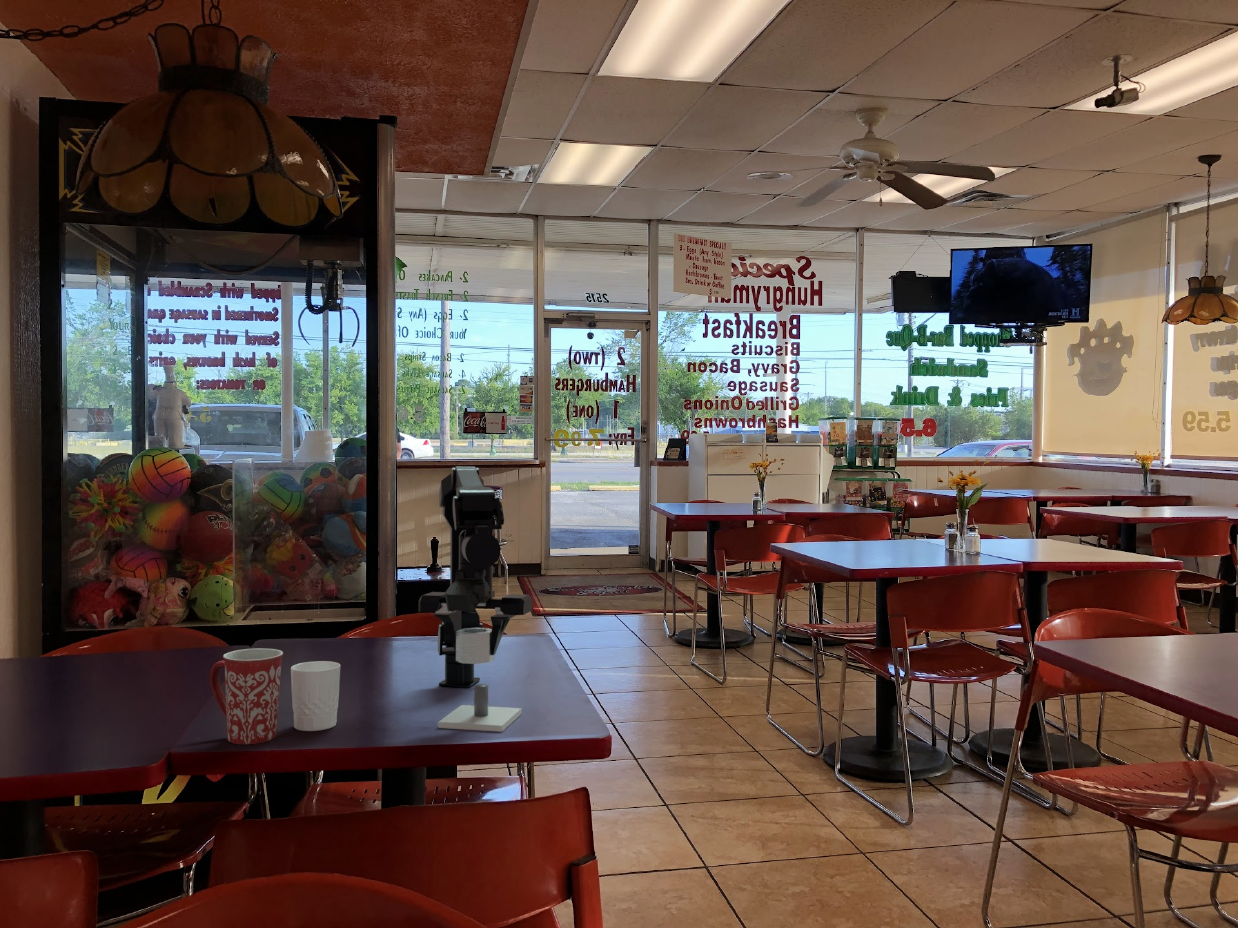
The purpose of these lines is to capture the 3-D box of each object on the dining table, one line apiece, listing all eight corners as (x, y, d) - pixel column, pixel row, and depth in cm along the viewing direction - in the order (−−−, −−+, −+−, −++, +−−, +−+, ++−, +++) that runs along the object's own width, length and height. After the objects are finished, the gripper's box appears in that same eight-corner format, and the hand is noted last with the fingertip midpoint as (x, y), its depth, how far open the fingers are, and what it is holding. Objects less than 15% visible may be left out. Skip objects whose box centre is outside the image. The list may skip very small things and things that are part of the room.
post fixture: (461, 710, 167) (461, 676, 167) (521, 713, 165) (521, 679, 165) (438, 727, 156) (438, 691, 156) (502, 731, 154) (502, 695, 154)
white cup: (322, 716, 163) (322, 658, 163) (349, 724, 158) (349, 665, 158) (281, 726, 157) (281, 666, 157) (307, 735, 152) (308, 673, 152)
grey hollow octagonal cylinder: (464, 655, 165) (465, 627, 165) (497, 657, 163) (497, 628, 163) (451, 662, 159) (452, 632, 159) (485, 664, 157) (485, 634, 158)
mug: (295, 733, 153) (295, 650, 153) (253, 749, 144) (253, 661, 144) (235, 724, 158) (236, 644, 158) (192, 739, 149) (192, 654, 149)
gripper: (404, 565, 155) (404, 660, 155) (513, 568, 151) (512, 665, 151) (431, 559, 166) (431, 648, 166) (533, 562, 162) (533, 652, 162)
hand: (475, 653), depth 161 cm, fingers closed on grey hollow octagonal cylinder, 6 cm apart
